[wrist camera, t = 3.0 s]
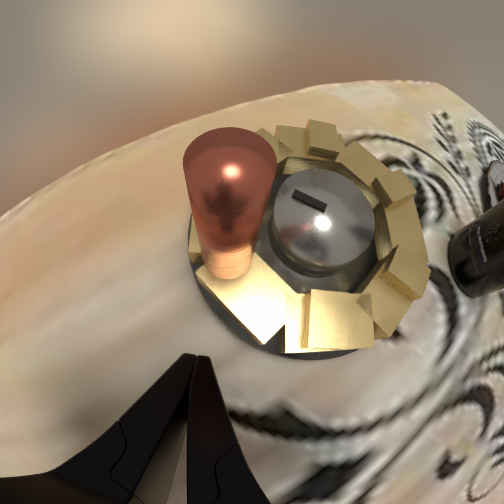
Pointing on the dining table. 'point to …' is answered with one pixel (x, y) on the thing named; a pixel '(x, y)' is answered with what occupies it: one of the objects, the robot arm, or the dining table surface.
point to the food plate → (495, 182)
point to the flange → (311, 243)
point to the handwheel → (249, 224)
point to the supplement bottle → (480, 253)
